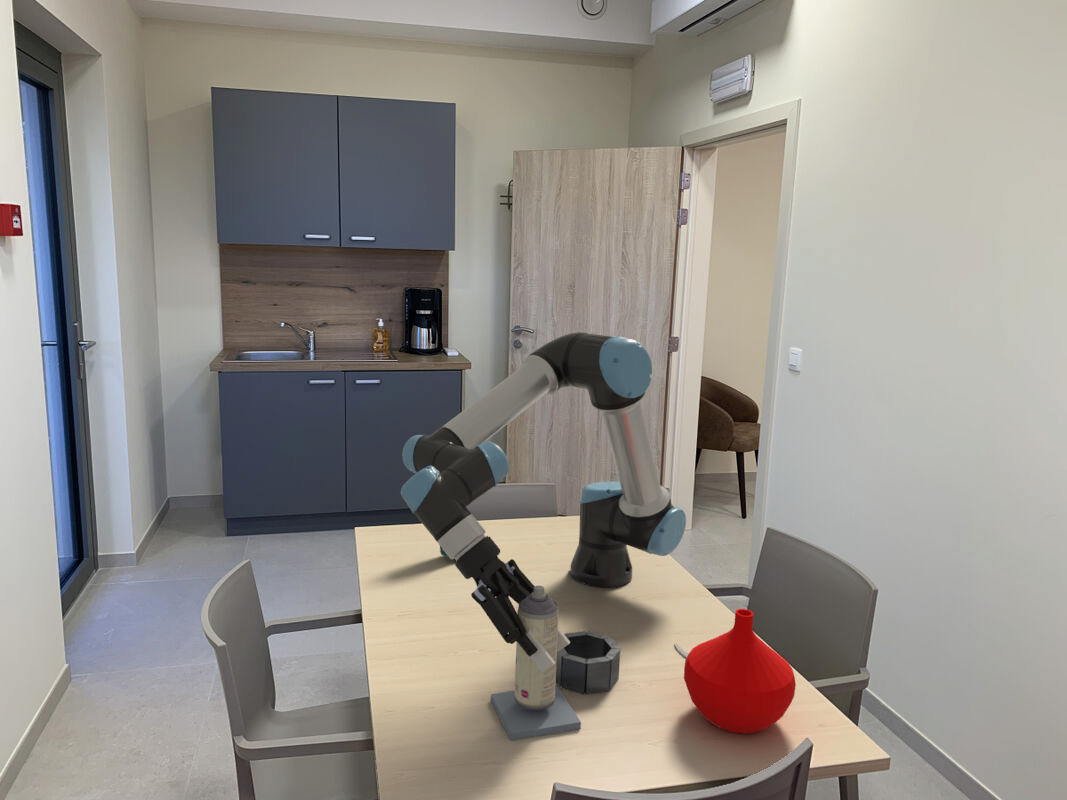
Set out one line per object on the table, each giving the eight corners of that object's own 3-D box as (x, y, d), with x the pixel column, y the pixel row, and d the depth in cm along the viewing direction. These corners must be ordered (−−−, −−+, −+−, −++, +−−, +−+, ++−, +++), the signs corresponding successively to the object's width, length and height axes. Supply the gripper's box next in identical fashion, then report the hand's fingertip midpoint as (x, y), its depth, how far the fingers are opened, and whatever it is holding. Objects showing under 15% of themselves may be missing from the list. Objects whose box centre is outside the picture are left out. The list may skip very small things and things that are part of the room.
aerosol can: (528, 683, 138) (532, 576, 134) (562, 695, 135) (567, 585, 131) (506, 701, 132) (510, 589, 129) (541, 714, 129) (546, 600, 125)
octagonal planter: (601, 657, 154) (602, 628, 153) (626, 688, 143) (628, 657, 142) (545, 665, 150) (546, 636, 149) (567, 697, 139) (568, 666, 138)
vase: (660, 699, 140) (667, 598, 137) (744, 680, 147) (753, 584, 144) (723, 760, 123) (733, 646, 120) (814, 735, 131) (826, 628, 127)
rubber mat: (555, 690, 142) (555, 684, 141) (580, 728, 130) (580, 721, 130) (490, 700, 138) (491, 694, 137) (511, 740, 126) (511, 733, 126)
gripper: (480, 541, 144) (560, 642, 141) (427, 581, 126) (518, 698, 123) (507, 518, 141) (590, 620, 138) (458, 555, 123) (552, 674, 120)
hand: (556, 656), depth 131 cm, fingers closed on aerosol can, 7 cm apart
